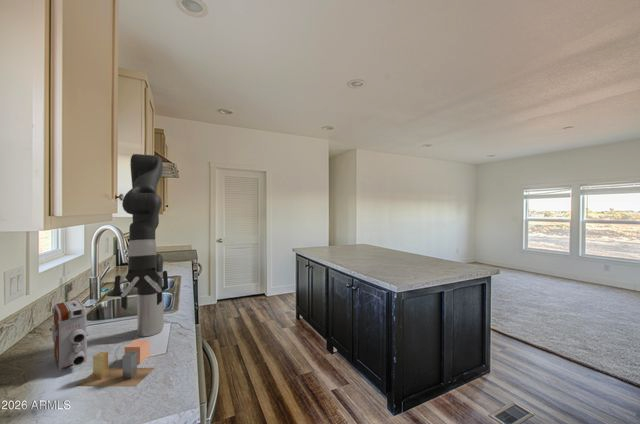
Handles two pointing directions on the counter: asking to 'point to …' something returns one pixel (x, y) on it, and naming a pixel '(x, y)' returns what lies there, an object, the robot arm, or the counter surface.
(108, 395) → the counter surface
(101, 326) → the counter surface
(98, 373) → the brass post
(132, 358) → the steel post
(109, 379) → the board
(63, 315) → the cine camera
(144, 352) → the peach foam brick
